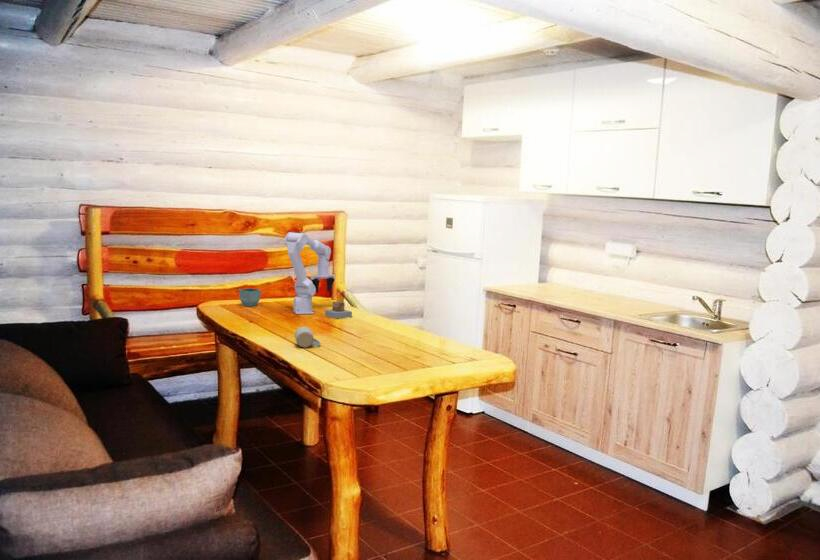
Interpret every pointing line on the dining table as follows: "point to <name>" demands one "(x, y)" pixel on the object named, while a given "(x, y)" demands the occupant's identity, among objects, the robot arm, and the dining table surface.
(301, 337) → the ceramic mug
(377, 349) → the dining table surface
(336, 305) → the walnut cube
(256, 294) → the flower pot
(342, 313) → the base block
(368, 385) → the dining table surface
